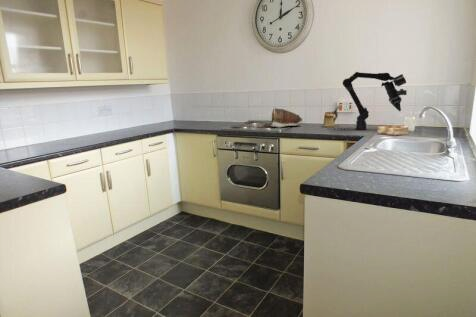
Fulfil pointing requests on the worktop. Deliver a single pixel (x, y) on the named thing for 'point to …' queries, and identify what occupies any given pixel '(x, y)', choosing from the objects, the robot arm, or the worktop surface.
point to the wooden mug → (330, 118)
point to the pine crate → (393, 130)
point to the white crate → (410, 123)
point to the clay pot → (284, 118)
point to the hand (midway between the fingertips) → (399, 110)
